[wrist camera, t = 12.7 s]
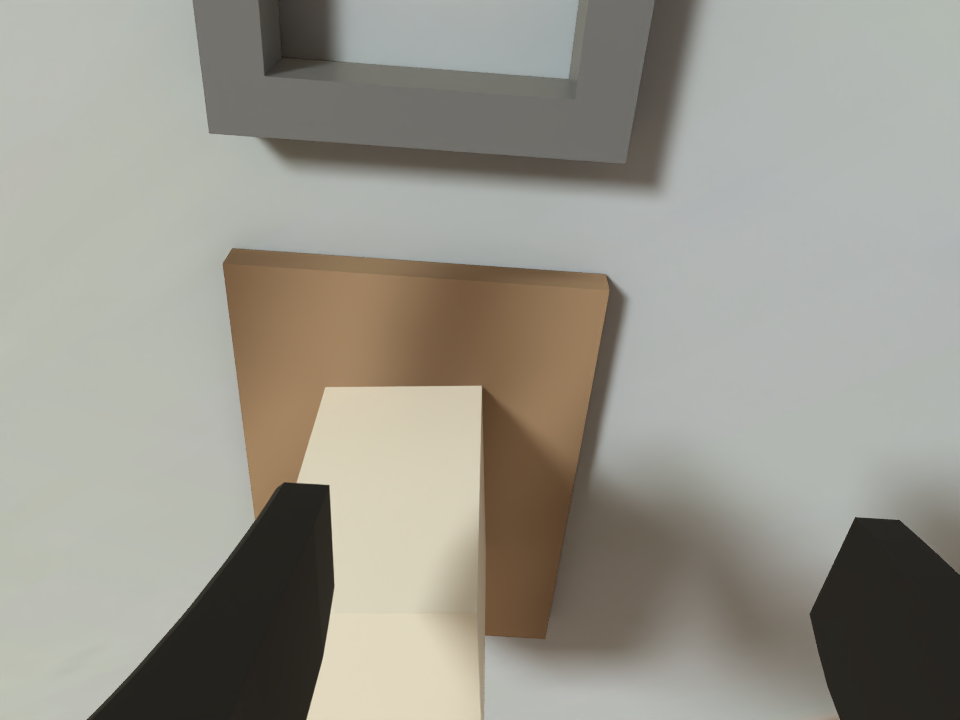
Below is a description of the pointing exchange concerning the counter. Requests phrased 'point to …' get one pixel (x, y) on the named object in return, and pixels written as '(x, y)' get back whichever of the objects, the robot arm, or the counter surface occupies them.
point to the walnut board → (430, 383)
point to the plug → (402, 552)
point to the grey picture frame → (425, 90)
